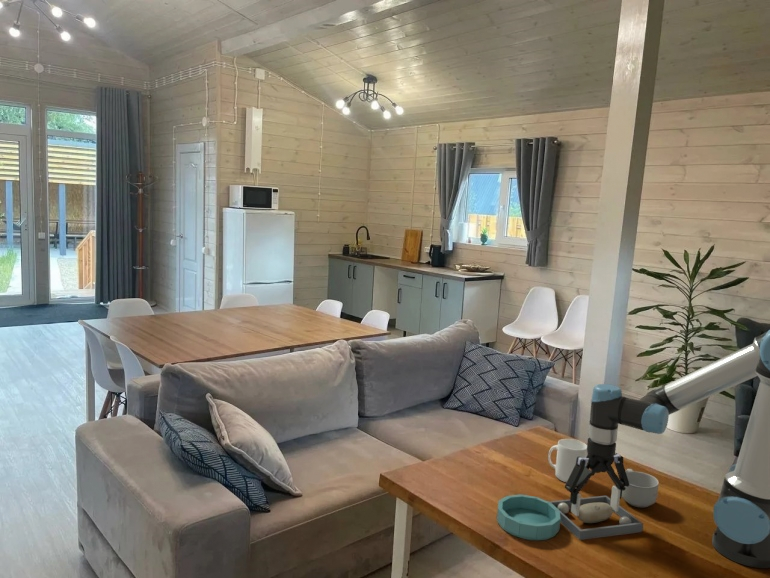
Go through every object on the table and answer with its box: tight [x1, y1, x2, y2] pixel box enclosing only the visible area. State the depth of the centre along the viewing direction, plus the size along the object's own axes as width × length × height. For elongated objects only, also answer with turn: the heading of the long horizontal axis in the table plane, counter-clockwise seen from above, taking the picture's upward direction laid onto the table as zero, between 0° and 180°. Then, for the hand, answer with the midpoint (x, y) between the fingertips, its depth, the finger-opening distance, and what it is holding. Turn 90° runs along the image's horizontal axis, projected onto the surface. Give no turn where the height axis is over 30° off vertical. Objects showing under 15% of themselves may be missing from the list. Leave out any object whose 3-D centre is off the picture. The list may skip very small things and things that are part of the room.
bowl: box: [496, 494, 561, 541], centre depth 164 cm, size 17×17×4 cm
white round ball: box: [558, 503, 570, 515], centre depth 171 cm, size 3×3×3 cm
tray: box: [548, 495, 644, 541], centre depth 168 cm, size 16×20×2 cm
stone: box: [576, 502, 614, 524], centre depth 168 cm, size 6×6×12 cm
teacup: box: [621, 468, 660, 509], centre depth 181 cm, size 14×11×8 cm
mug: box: [547, 438, 588, 484], centre depth 194 cm, size 10×12×12 cm
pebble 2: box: [618, 516, 631, 525], centre depth 165 cm, size 3×3×3 cm
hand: (594, 511), depth 168 cm, fingers closed on stone, 12 cm apart
